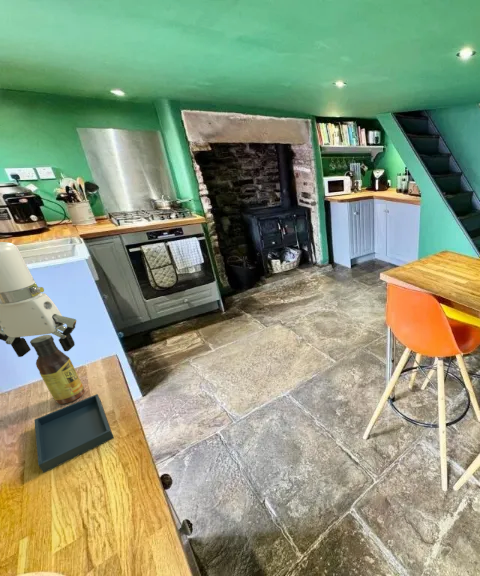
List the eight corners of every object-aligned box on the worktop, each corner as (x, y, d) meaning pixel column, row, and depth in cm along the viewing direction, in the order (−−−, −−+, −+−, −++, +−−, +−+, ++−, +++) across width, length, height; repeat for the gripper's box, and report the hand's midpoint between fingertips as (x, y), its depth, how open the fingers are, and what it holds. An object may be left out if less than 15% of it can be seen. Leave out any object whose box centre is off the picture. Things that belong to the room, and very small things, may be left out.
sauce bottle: (83, 399, 86) (53, 341, 78) (53, 408, 83) (18, 349, 75) (87, 385, 91) (60, 330, 83) (59, 394, 88) (27, 336, 79)
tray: (38, 426, 77) (34, 419, 76) (100, 400, 86) (97, 393, 85) (43, 472, 67) (38, 465, 66) (113, 437, 75) (110, 430, 74)
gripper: (69, 284, 79) (94, 338, 86) (-16, 290, 74) (18, 347, 81) (49, 296, 72) (78, 354, 79) (-46, 304, 68) (-6, 365, 75)
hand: (47, 351), depth 80 cm, fingers open, 9 cm apart
